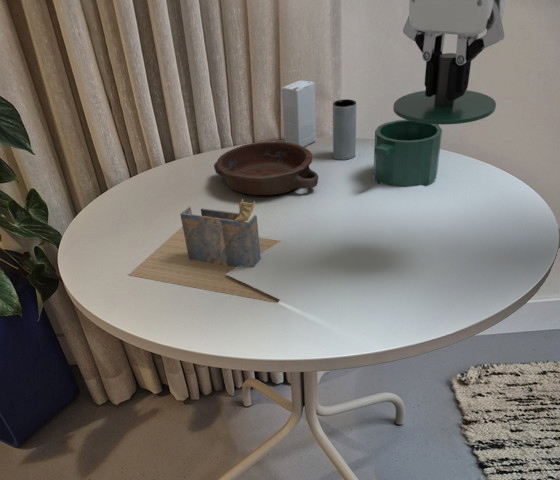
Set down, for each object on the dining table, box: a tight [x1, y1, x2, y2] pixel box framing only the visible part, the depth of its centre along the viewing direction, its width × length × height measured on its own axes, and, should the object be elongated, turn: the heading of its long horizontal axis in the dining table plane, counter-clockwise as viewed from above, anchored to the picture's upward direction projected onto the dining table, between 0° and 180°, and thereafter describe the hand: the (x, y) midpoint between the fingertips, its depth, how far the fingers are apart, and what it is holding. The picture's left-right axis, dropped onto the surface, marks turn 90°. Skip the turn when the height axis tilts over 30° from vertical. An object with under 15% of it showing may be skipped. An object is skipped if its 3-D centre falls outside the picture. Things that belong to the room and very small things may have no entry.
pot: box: [372, 119, 443, 188], centre depth 106 cm, size 12×17×8 cm
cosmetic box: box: [281, 79, 317, 148], centre depth 121 cm, size 6×4×12 cm
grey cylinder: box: [332, 98, 357, 161], centre depth 115 cm, size 4×4×10 cm
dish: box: [213, 140, 319, 196], centre depth 109 cm, size 18×22×5 cm
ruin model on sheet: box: [128, 198, 282, 303], centre depth 86 cm, size 25×16×10 cm, turn 67°
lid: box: [392, 52, 497, 126], centre depth 71 cm, size 13×13×7 cm
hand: (444, 94), depth 72 cm, fingers closed on lid, 2 cm apart
